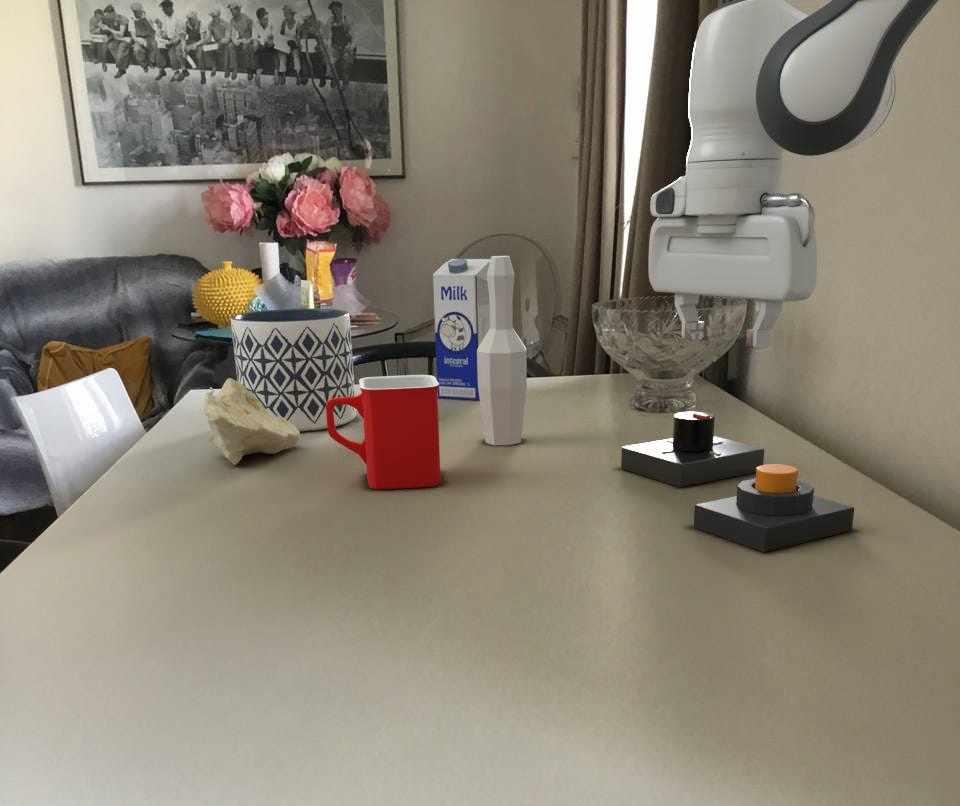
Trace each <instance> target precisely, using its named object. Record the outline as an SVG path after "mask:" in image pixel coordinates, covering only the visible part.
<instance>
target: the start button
mask: <svg viewBox="0 0 960 806" xmlns="http://www.w3.org/2000/svg"><path fill="white" fill-rule="evenodd" d="M798 475H799V469H798V468H797V467H796V466H793V465H789V464H788V465H787V464H781V463H768V464H767V463H766V464H763V465H761V466H758V467H757V470H756V472H755V478H756V482H755V489H756V490H759V491H763V492H772V493H790V492H794V491H796V486H797V480H798Z"/></svg>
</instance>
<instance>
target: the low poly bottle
mask: <svg viewBox="0 0 960 806" xmlns="http://www.w3.org/2000/svg"><path fill="white" fill-rule="evenodd" d="M490 259H491V260H490V264H489V268H488V273H487V281H488V291H489V300H490V329H489V331H488V332H487V334H486V336H485V337H484V339H483V341H482V342H481V344H480V345H479V347H478V349H477V371H478V391H479V398H480V399H479V405H480V411H481V421H482V426H483V433H484V442H485V444H488V445H492V446H511V445H517V444H521V442H522V435H523V425H524V417H525V416H524V415H525V414H524V413H525V407H526V405H525V404H526V398H527V397H526V396H527V385H528V384H527V383H528V379H527V378H528V376H527V374H528V373H527V371H528V370H527V368H528V367H527V365H528V363H527V358H528V357H527V356H528V355H527V347H526V345H525V344H524V342H523V341H522V340H521V338H520V336H519V335H518V334H517V332H516V331H515V329H514V320H513V319H514V318H513V315H514V314H513V313H514V311H513V310H514V309H513V302H514V301H513V299H514V287H515V286H514V285H515V271H514V268H513V264H512V260H511V256H510V255H493V256H490Z"/></svg>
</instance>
